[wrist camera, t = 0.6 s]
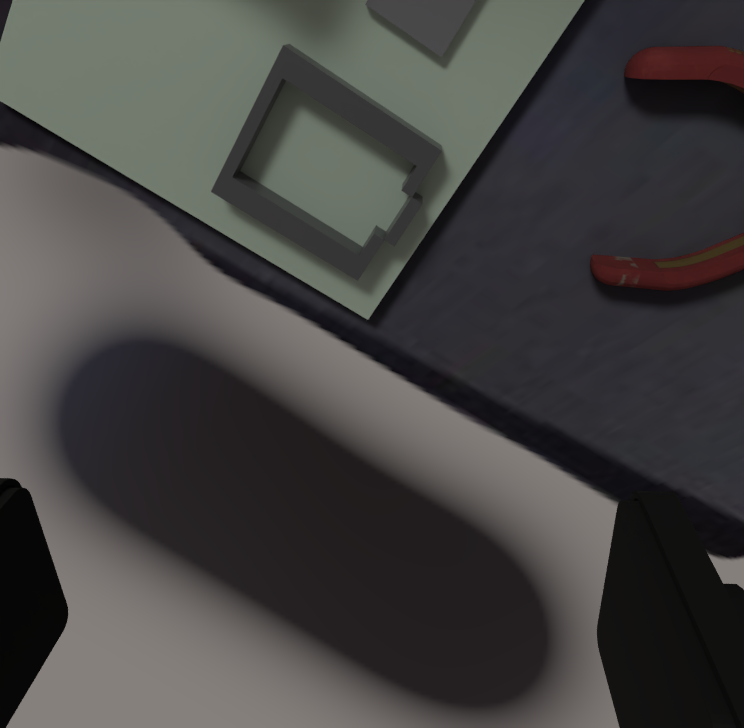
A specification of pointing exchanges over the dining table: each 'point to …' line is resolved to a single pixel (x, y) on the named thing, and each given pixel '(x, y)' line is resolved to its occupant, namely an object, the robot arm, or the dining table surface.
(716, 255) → the pliers
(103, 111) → the board
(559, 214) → the dining table surface
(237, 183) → the frame
